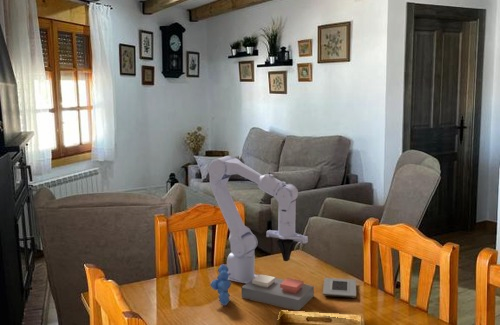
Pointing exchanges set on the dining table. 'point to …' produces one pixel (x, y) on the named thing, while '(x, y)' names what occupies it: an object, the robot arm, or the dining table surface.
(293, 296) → the panel
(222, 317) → the dining table surface
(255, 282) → the white plunger
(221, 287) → the grapes
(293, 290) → the red plunger
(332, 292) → the electrical outlet
